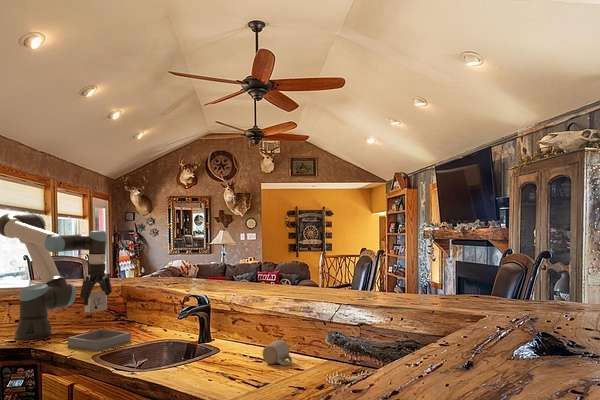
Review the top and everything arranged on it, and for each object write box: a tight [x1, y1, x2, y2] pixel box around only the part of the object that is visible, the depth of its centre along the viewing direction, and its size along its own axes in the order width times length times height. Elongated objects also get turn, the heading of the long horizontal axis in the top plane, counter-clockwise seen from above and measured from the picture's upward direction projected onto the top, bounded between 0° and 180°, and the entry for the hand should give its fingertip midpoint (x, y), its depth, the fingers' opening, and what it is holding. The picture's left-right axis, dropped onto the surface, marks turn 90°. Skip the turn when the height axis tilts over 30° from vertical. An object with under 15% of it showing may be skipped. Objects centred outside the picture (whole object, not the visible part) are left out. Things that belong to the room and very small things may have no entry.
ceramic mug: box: [262, 339, 293, 367], centre depth 177 cm, size 11×8×8 cm
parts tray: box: [67, 328, 132, 353], centre depth 205 cm, size 18×18×4 cm
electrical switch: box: [89, 290, 108, 314], centre depth 225 cm, size 9×5×9 cm, turn 152°
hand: (95, 310), depth 225 cm, fingers closed on electrical switch, 9 cm apart
